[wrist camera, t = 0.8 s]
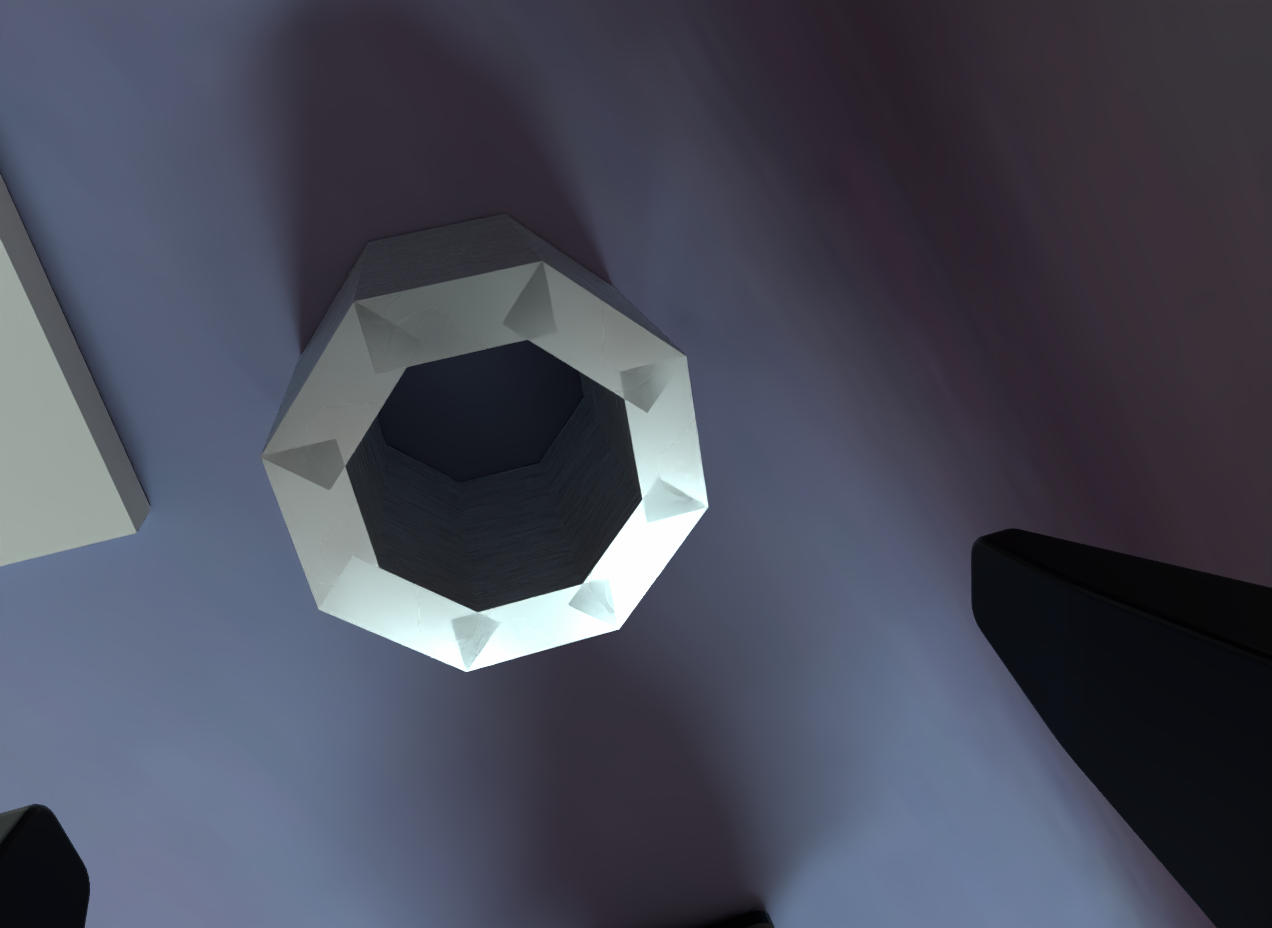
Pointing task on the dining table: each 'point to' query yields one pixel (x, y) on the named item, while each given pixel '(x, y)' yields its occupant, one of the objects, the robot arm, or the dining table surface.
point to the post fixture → (52, 421)
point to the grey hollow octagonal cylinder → (498, 503)
